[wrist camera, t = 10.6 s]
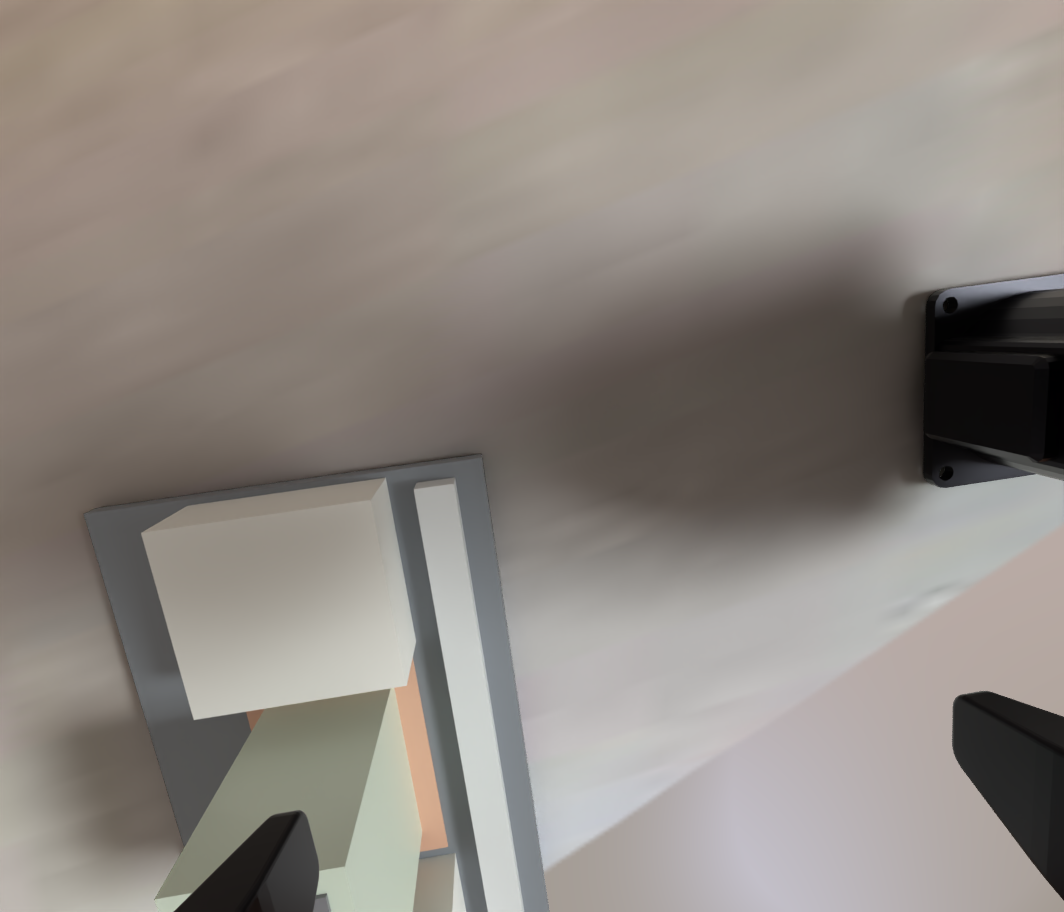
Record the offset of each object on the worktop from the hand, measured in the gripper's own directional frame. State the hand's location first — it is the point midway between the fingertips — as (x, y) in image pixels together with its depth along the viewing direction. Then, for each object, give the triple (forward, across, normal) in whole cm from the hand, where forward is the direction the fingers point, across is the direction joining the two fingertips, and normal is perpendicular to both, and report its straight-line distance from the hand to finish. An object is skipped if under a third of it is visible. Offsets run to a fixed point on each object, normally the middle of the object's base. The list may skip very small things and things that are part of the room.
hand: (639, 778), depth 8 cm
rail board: (+12, +8, +8) cm, 16 cm away
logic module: (+11, +8, +8) cm, 16 cm away
